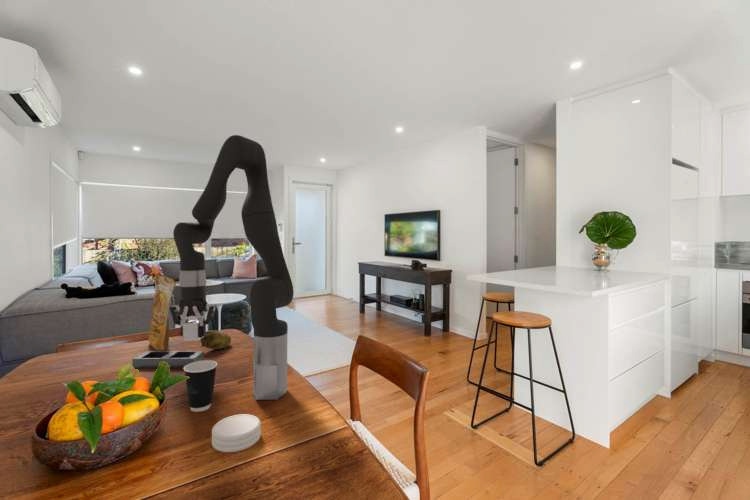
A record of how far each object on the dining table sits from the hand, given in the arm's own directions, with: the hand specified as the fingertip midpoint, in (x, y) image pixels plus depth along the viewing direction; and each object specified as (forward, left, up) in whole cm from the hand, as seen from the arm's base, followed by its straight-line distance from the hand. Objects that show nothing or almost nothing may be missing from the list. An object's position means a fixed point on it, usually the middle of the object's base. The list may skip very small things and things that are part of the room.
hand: (193, 336), depth 113 cm
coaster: (-38, -26, -12) cm, 47 cm away
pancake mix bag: (+30, +26, -12) cm, 42 cm away
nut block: (0, 0, -1) cm, 1 cm away
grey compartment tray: (+9, +12, -12) cm, 19 cm away
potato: (+25, +2, -12) cm, 28 cm away
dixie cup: (-23, -12, -12) cm, 28 cm away
